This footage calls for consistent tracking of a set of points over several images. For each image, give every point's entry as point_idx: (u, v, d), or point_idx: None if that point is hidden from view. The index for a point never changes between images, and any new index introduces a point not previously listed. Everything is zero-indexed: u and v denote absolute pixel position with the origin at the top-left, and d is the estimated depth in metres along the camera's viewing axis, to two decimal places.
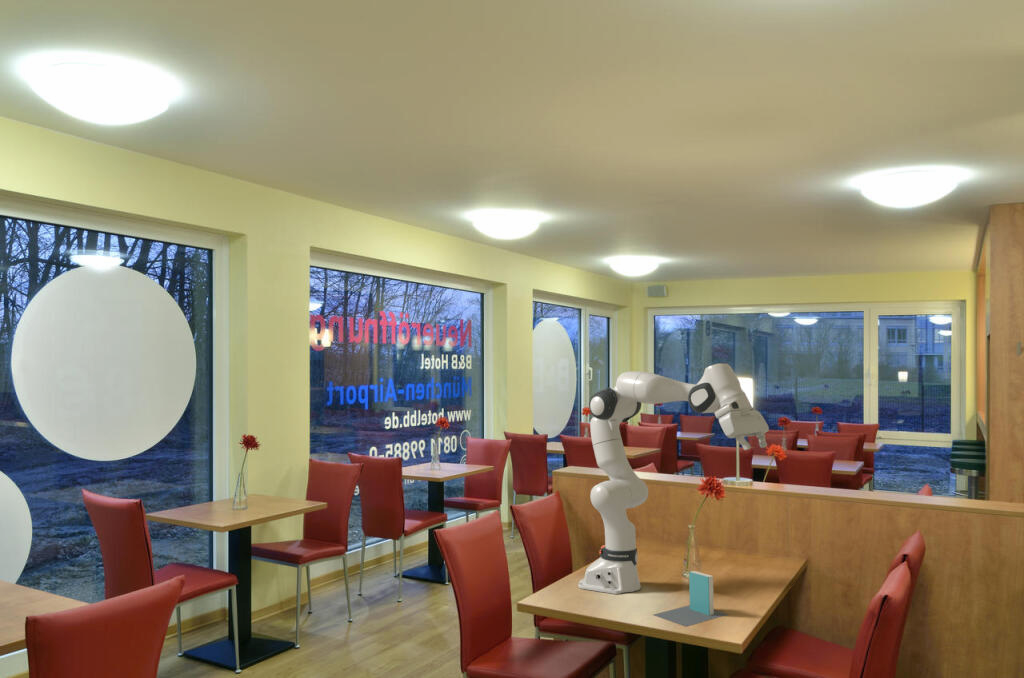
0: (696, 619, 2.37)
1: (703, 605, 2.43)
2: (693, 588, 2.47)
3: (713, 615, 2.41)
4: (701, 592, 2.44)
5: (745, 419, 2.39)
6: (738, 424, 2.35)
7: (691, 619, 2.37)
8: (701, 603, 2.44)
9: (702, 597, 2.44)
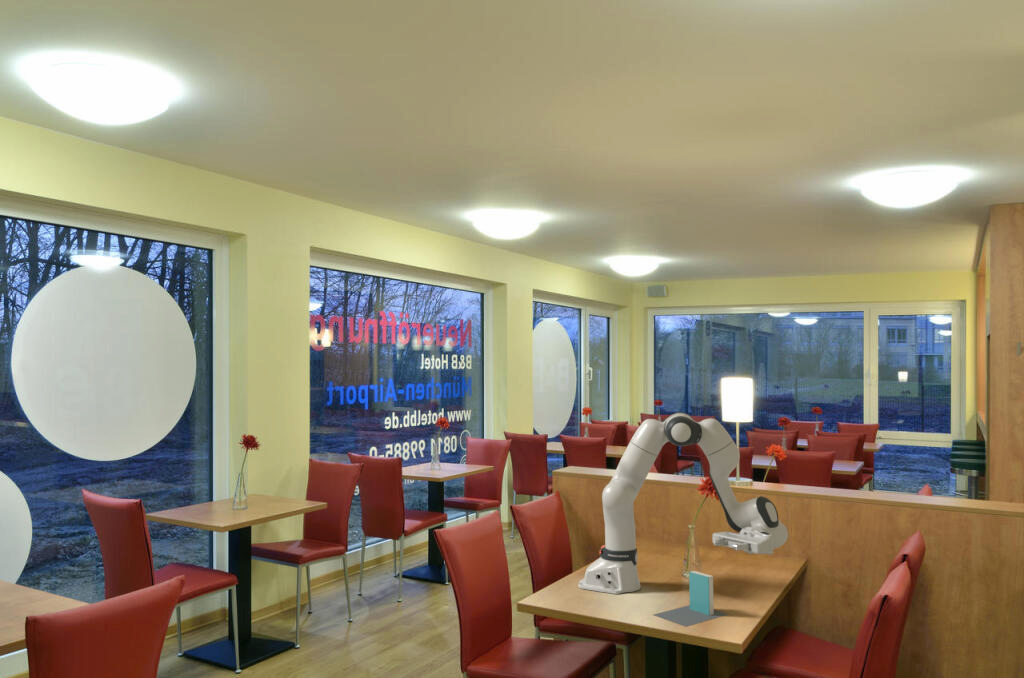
0: (696, 619, 2.37)
1: (703, 605, 2.43)
2: (693, 588, 2.47)
3: (713, 615, 2.41)
4: (701, 592, 2.44)
5: None
6: None
7: (691, 619, 2.37)
8: (701, 603, 2.44)
9: (702, 597, 2.44)
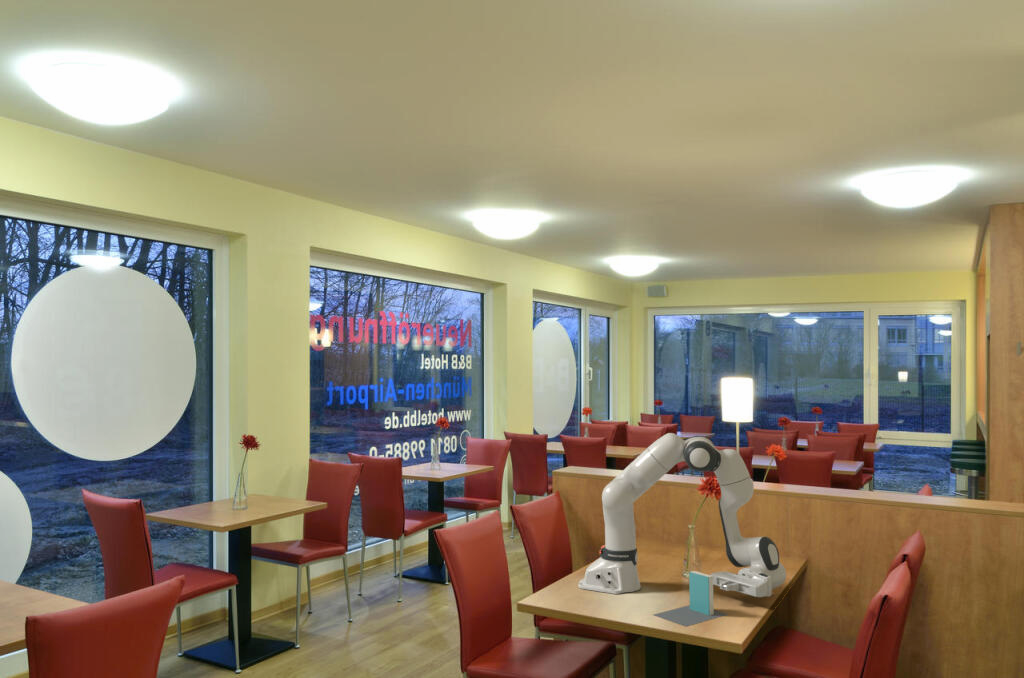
0: (696, 619, 2.37)
1: (703, 605, 2.43)
2: (693, 588, 2.47)
3: (713, 615, 2.41)
4: (701, 592, 2.44)
5: None
6: None
7: (691, 619, 2.37)
8: (701, 603, 2.44)
9: (702, 597, 2.44)
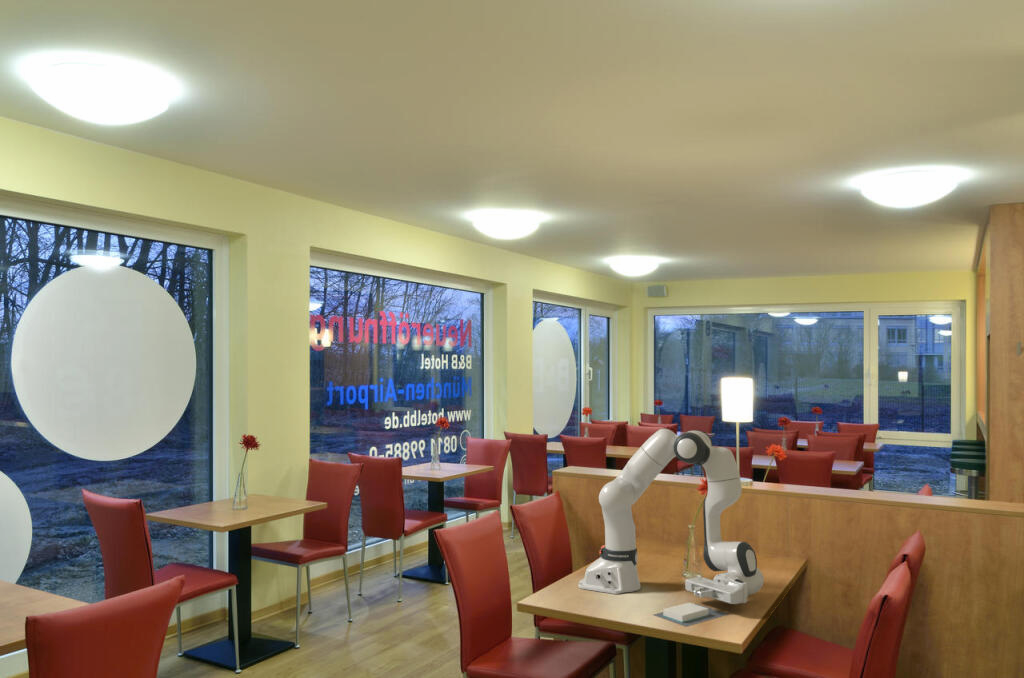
0: (696, 619, 2.37)
1: None
2: None
3: (713, 615, 2.41)
4: None
5: None
6: None
7: None
8: None
9: None
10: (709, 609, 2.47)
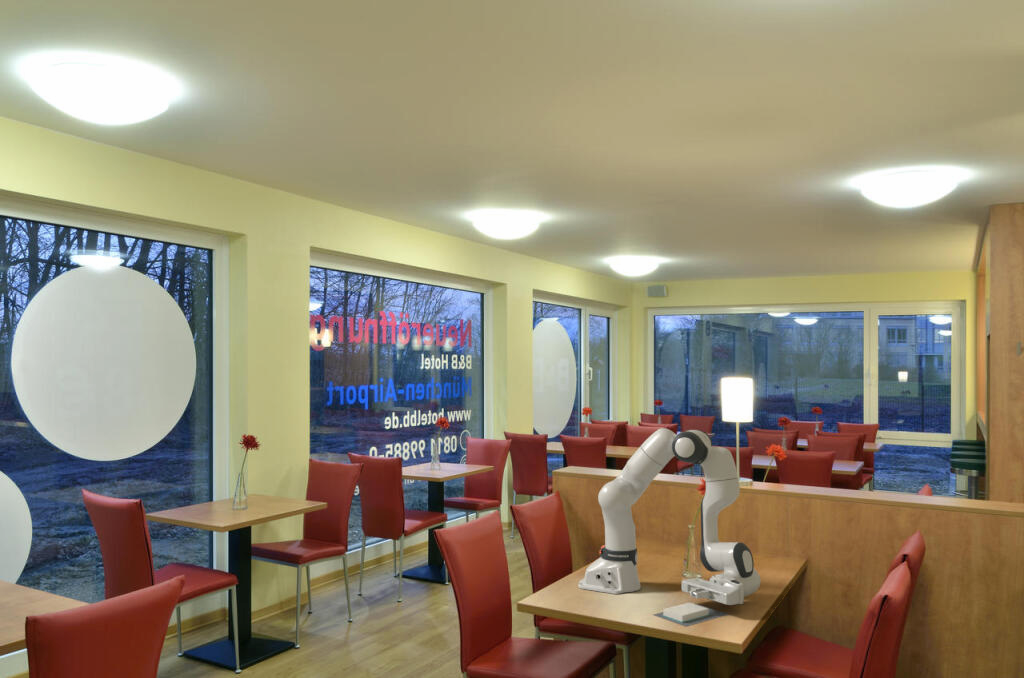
0: (696, 619, 2.37)
1: None
2: None
3: (713, 615, 2.41)
4: None
5: None
6: None
7: None
8: None
9: None
10: (709, 609, 2.47)
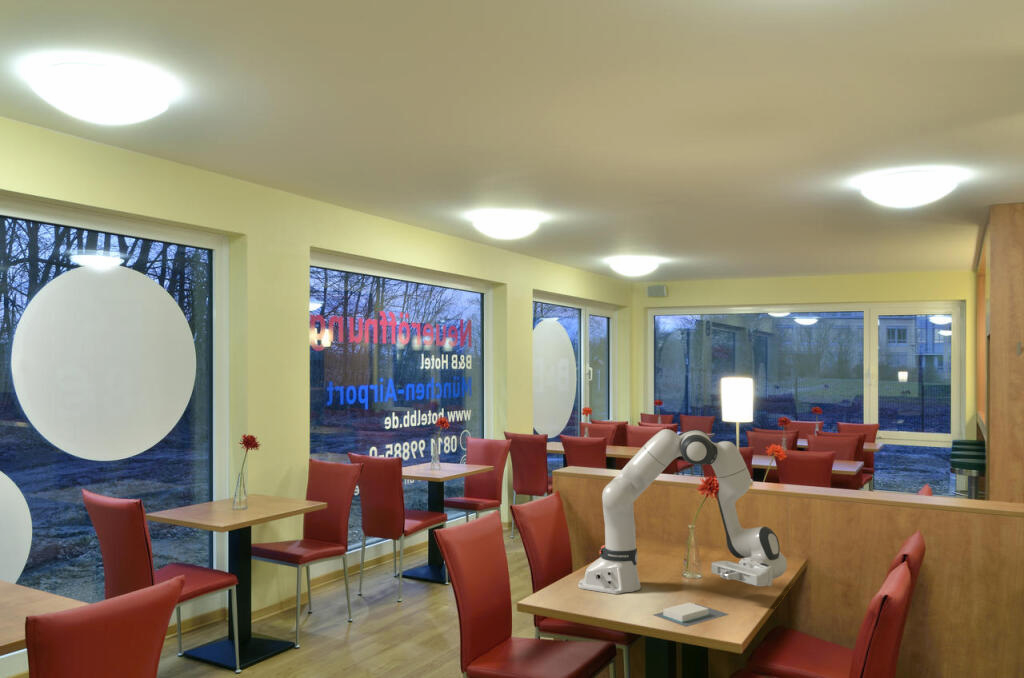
0: (696, 619, 2.37)
1: None
2: None
3: (713, 615, 2.41)
4: None
5: None
6: None
7: None
8: None
9: None
10: (709, 609, 2.47)
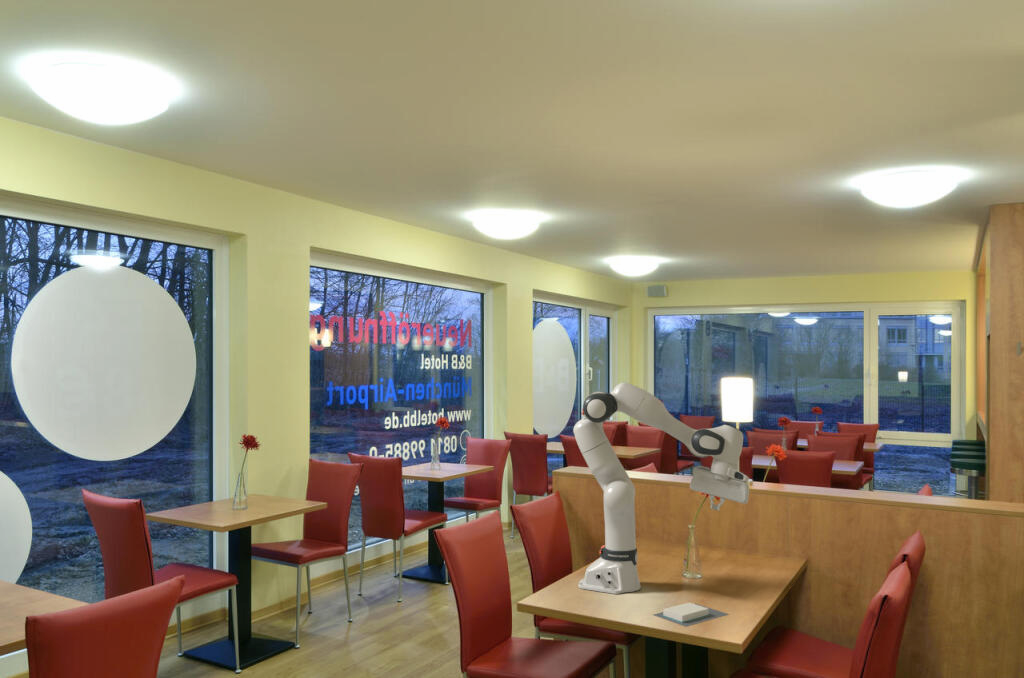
0: (696, 619, 2.37)
1: None
2: None
3: (713, 615, 2.41)
4: None
5: None
6: None
7: None
8: None
9: None
10: (709, 609, 2.47)
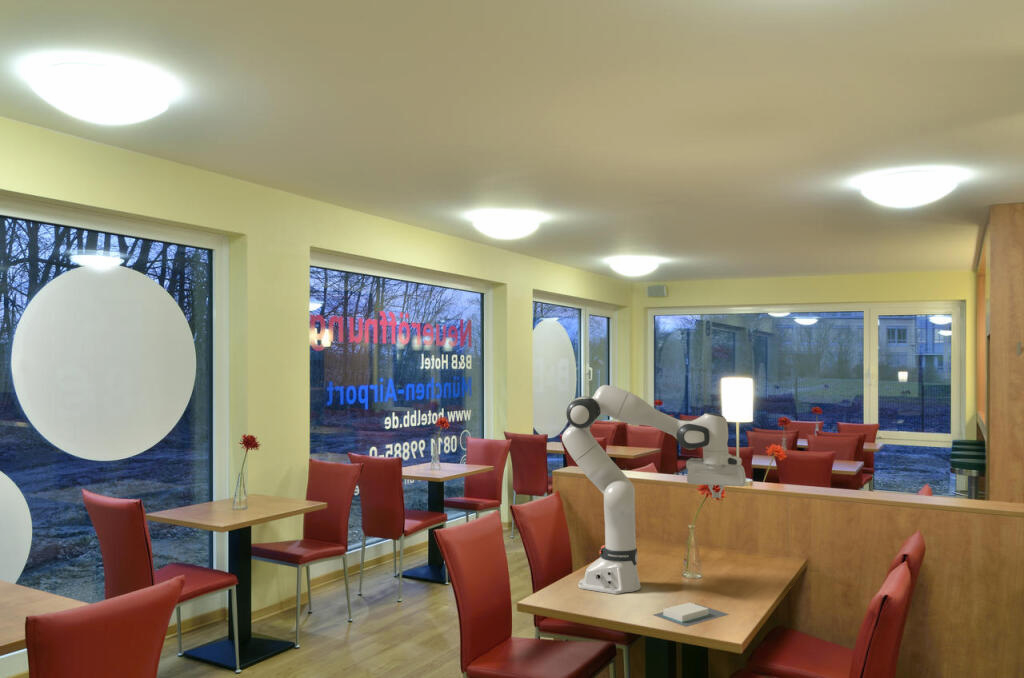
0: (696, 619, 2.37)
1: None
2: None
3: (713, 615, 2.41)
4: None
5: None
6: None
7: None
8: None
9: None
10: (709, 609, 2.47)
